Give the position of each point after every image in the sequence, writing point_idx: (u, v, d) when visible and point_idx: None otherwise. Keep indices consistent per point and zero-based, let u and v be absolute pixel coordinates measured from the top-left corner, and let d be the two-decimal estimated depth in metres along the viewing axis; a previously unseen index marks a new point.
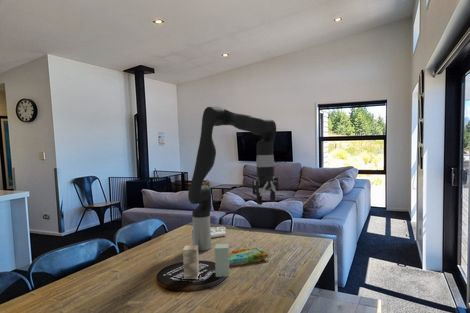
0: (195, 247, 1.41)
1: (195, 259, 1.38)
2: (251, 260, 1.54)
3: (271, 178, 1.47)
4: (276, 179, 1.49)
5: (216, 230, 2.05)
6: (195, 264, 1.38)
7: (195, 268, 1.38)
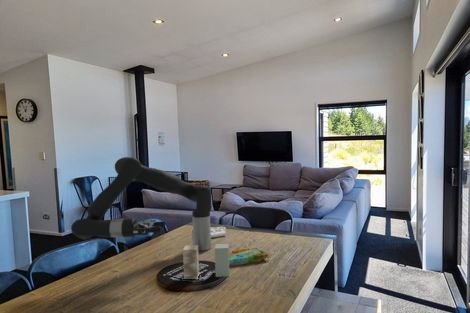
0: (195, 247, 1.41)
1: (195, 259, 1.38)
2: (251, 260, 1.54)
3: None
4: None
5: (216, 230, 2.05)
6: (195, 264, 1.38)
7: (195, 268, 1.38)
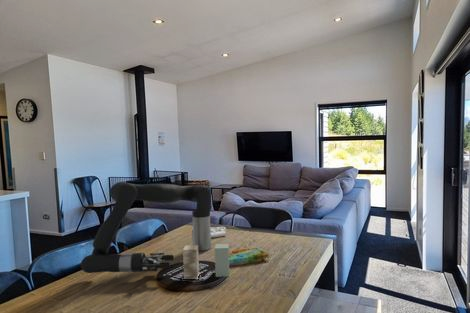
0: (195, 247, 1.41)
1: (195, 259, 1.38)
2: (251, 260, 1.54)
3: None
4: None
5: (216, 230, 2.05)
6: (195, 264, 1.38)
7: (195, 268, 1.38)
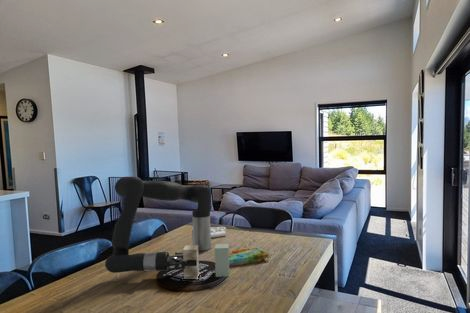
0: (195, 247, 1.41)
1: (195, 259, 1.38)
2: (251, 260, 1.54)
3: None
4: None
5: (216, 230, 2.05)
6: None
7: (195, 268, 1.38)
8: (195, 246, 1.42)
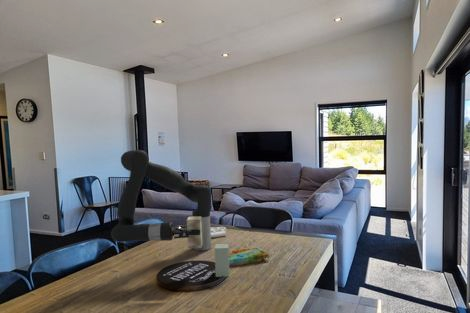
0: (198, 217, 1.45)
1: (199, 229, 1.42)
2: (251, 260, 1.54)
3: None
4: (176, 237, 1.39)
5: (216, 230, 2.05)
6: None
7: (199, 237, 1.42)
8: (198, 217, 1.46)
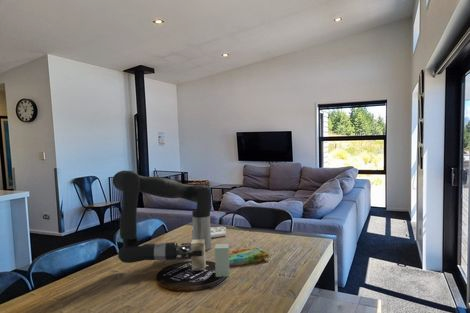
0: (202, 241, 1.50)
1: (202, 252, 1.47)
2: (251, 260, 1.54)
3: None
4: None
5: (216, 230, 2.05)
6: (202, 257, 1.47)
7: (202, 260, 1.47)
8: (202, 240, 1.51)
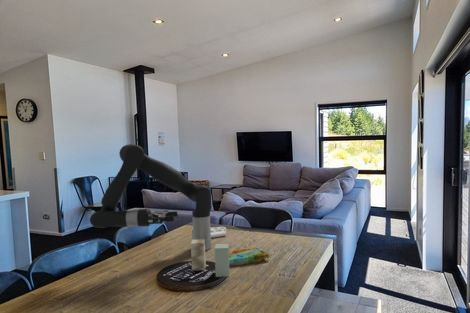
0: (202, 241, 1.50)
1: (202, 252, 1.47)
2: (251, 260, 1.54)
3: None
4: None
5: (216, 230, 2.05)
6: (202, 257, 1.47)
7: (202, 260, 1.47)
8: (202, 240, 1.51)
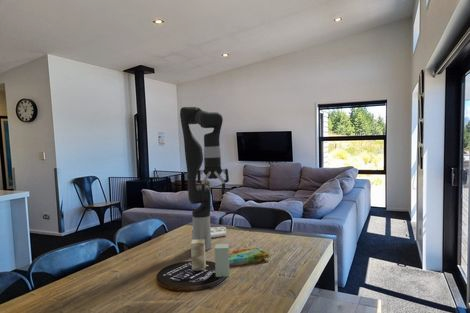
0: (202, 241, 1.50)
1: (202, 252, 1.47)
2: (251, 260, 1.54)
3: (218, 169, 1.54)
4: (225, 171, 1.54)
5: (217, 230, 2.05)
6: (202, 257, 1.47)
7: (202, 260, 1.47)
8: (202, 240, 1.51)
